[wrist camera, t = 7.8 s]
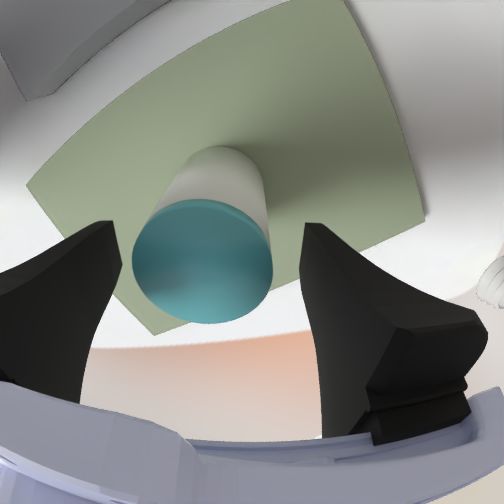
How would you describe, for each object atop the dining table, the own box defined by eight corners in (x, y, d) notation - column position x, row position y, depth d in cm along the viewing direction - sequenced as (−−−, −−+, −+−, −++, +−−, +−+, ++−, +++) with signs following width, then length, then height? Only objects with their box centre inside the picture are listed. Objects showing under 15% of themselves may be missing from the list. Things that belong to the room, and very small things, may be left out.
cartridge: (263, 225, 16) (272, 322, 10) (182, 228, 16) (149, 322, 10) (263, 144, 14) (274, 205, 8) (171, 149, 14) (116, 212, 8)
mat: (156, 329, 22) (154, 335, 21) (30, 181, 15) (25, 185, 14) (420, 216, 17) (425, 221, 16) (331, -11, 10) (334, -14, 9)
